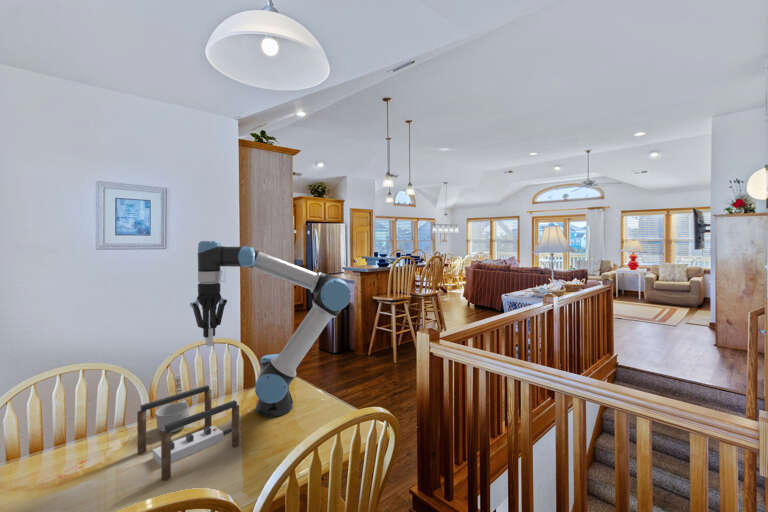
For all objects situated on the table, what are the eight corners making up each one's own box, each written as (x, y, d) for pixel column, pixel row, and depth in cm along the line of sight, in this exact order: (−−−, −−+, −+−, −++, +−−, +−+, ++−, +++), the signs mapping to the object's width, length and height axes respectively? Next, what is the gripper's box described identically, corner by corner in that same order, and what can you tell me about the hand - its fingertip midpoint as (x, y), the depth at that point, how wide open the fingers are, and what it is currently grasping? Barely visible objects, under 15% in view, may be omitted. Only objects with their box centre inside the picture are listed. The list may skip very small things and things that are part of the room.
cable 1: (207, 389, 136) (207, 385, 136) (209, 390, 135) (209, 386, 135) (140, 409, 118) (140, 405, 118) (142, 411, 117) (142, 406, 117)
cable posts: (209, 424, 137) (209, 388, 137) (240, 445, 124) (240, 406, 123) (136, 452, 118) (136, 411, 118) (163, 481, 104) (163, 435, 104)
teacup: (173, 438, 127) (173, 416, 127) (148, 434, 129) (148, 413, 129) (201, 419, 141) (201, 399, 140) (177, 416, 143) (177, 397, 143)
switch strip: (229, 426, 136) (229, 414, 136) (238, 433, 131) (239, 420, 131) (152, 458, 115) (152, 444, 115) (161, 467, 111) (161, 452, 111)
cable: (234, 404, 123) (234, 400, 123) (236, 406, 122) (236, 401, 122) (164, 430, 106) (164, 425, 106) (167, 432, 105) (167, 427, 105)
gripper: (221, 280, 138) (221, 339, 139) (186, 283, 128) (186, 347, 129) (231, 282, 134) (231, 343, 135) (195, 284, 123) (195, 351, 124)
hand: (209, 345), depth 132 cm, fingers closed
